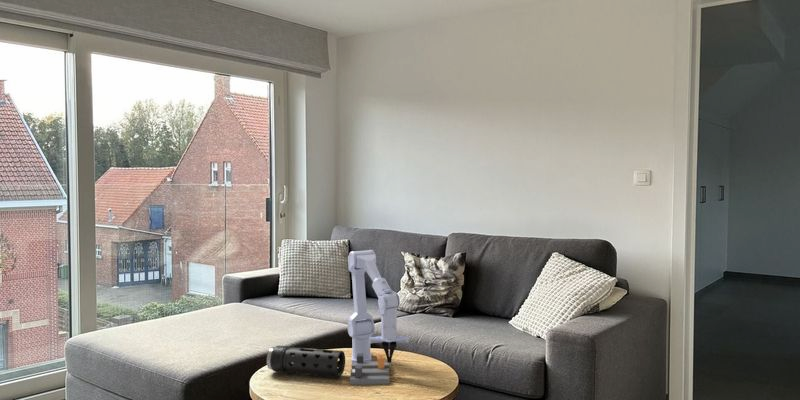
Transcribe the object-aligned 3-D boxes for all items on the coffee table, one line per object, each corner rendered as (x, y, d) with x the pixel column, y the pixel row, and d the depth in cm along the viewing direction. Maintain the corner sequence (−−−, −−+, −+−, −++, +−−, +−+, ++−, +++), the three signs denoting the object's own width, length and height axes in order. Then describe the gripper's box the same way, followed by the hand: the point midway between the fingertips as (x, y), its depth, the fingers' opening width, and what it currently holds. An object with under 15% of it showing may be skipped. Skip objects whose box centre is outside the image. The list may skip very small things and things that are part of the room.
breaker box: (352, 366, 235) (352, 352, 235) (388, 366, 235) (388, 352, 235) (350, 384, 215) (349, 369, 215) (389, 384, 215) (389, 369, 215)
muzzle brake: (336, 382, 218) (336, 354, 217) (265, 376, 225) (265, 349, 224) (345, 374, 227) (345, 346, 227) (277, 368, 234) (276, 342, 233)
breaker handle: (377, 367, 227) (377, 354, 227) (385, 367, 227) (385, 353, 227) (377, 371, 223) (376, 357, 223) (385, 370, 223) (385, 357, 223)
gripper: (369, 328, 220) (369, 365, 221) (409, 328, 221) (409, 364, 221) (369, 323, 227) (369, 359, 228) (408, 323, 228) (408, 358, 228)
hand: (389, 361), depth 225 cm, fingers closed
